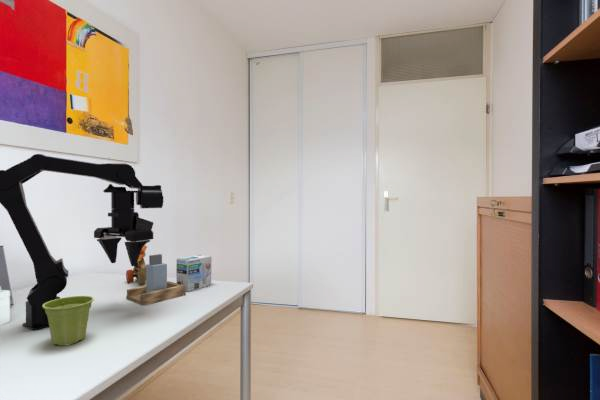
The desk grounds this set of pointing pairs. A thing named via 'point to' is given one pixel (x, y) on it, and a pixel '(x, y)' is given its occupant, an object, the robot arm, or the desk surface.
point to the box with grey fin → (156, 274)
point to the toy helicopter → (138, 269)
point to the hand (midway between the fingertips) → (123, 264)
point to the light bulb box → (194, 272)
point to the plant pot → (68, 318)
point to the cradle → (155, 294)
